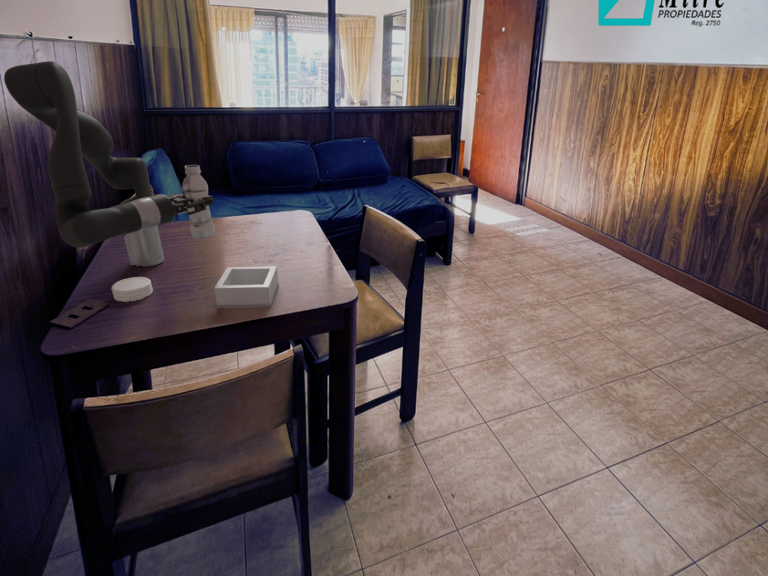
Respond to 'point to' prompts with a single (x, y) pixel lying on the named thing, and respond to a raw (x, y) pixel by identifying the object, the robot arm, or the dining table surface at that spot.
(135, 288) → the coaster
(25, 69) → the robot arm
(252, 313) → the dining table surface
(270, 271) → the bin
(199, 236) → the plastic bottle
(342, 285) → the dining table surface
